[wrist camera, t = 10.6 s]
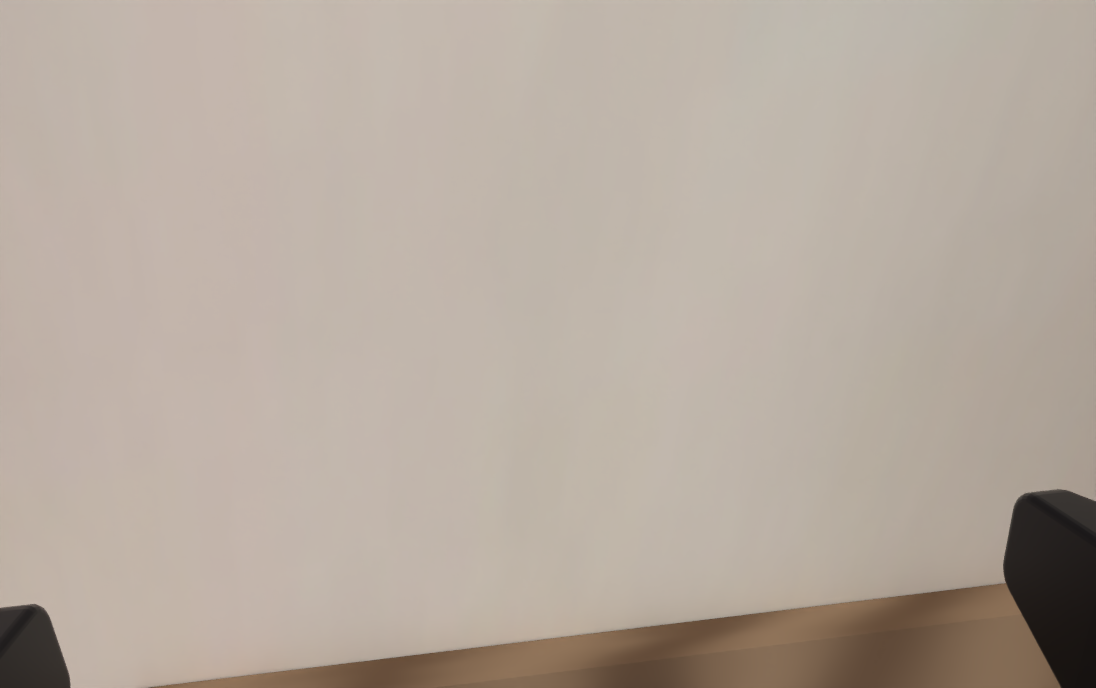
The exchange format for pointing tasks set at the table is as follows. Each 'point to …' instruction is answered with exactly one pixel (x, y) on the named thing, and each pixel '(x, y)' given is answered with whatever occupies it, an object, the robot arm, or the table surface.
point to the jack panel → (737, 653)
